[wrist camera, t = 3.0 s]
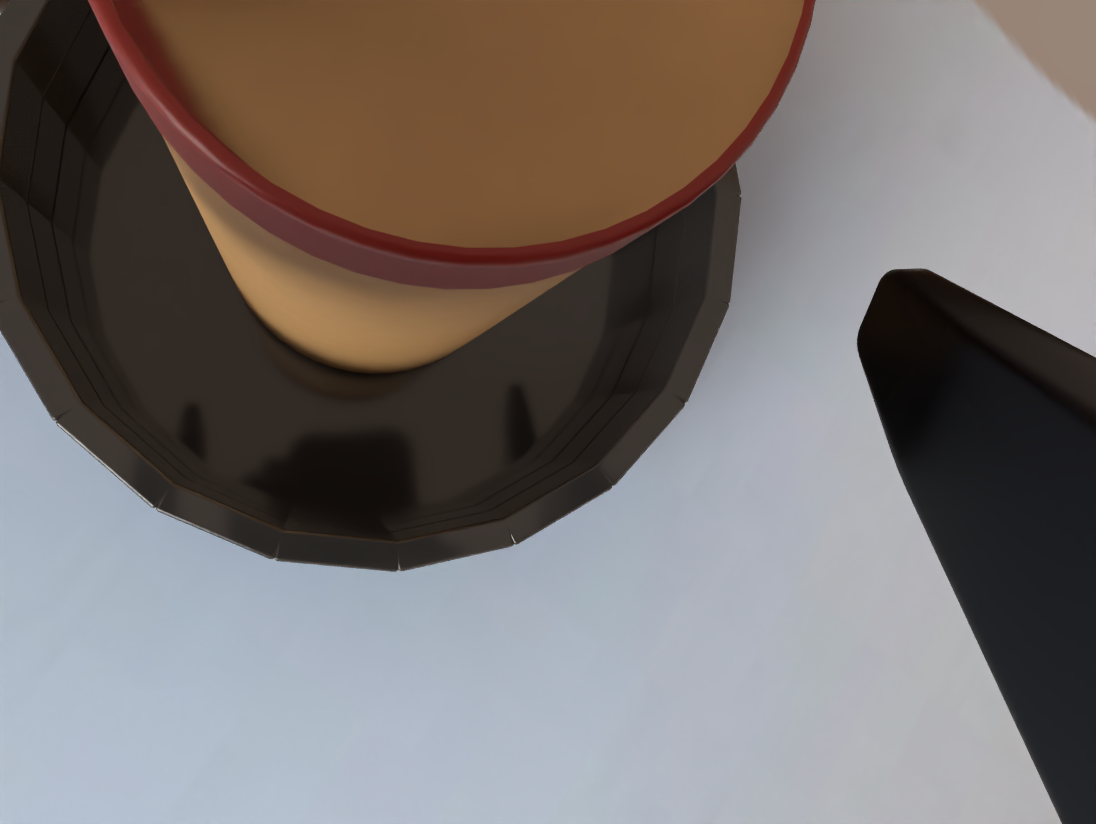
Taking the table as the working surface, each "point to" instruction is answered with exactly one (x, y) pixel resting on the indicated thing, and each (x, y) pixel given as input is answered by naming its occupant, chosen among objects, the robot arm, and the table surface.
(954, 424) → the robot arm
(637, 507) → the table surface
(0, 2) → the pan handle
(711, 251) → the pan
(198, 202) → the cracker tube
